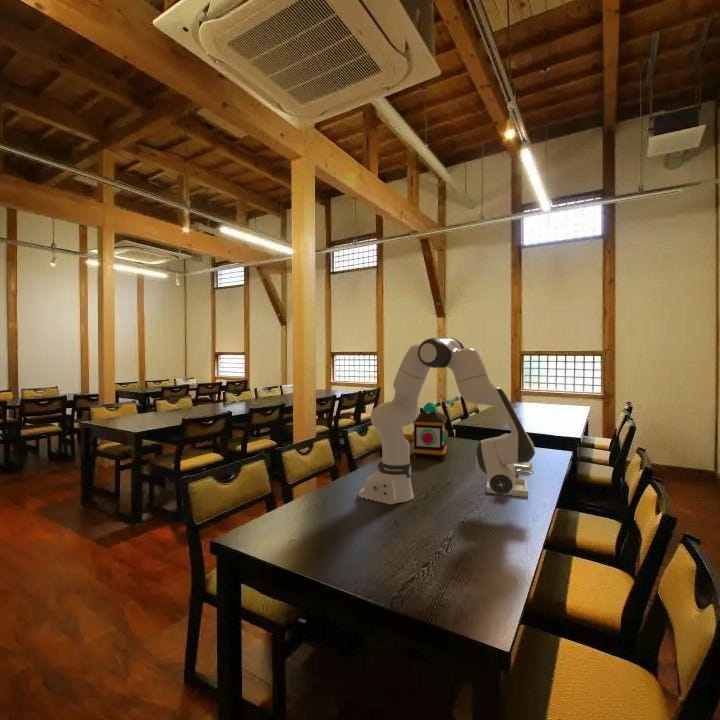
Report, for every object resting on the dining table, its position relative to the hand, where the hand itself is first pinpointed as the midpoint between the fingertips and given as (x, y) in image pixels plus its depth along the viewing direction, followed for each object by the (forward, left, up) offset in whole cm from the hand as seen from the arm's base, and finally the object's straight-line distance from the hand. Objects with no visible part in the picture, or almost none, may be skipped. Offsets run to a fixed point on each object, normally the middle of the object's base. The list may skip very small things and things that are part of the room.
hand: (503, 459), depth 158 cm
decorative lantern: (-40, +55, -17) cm, 70 cm away
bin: (+1, +15, -17) cm, 22 cm away
